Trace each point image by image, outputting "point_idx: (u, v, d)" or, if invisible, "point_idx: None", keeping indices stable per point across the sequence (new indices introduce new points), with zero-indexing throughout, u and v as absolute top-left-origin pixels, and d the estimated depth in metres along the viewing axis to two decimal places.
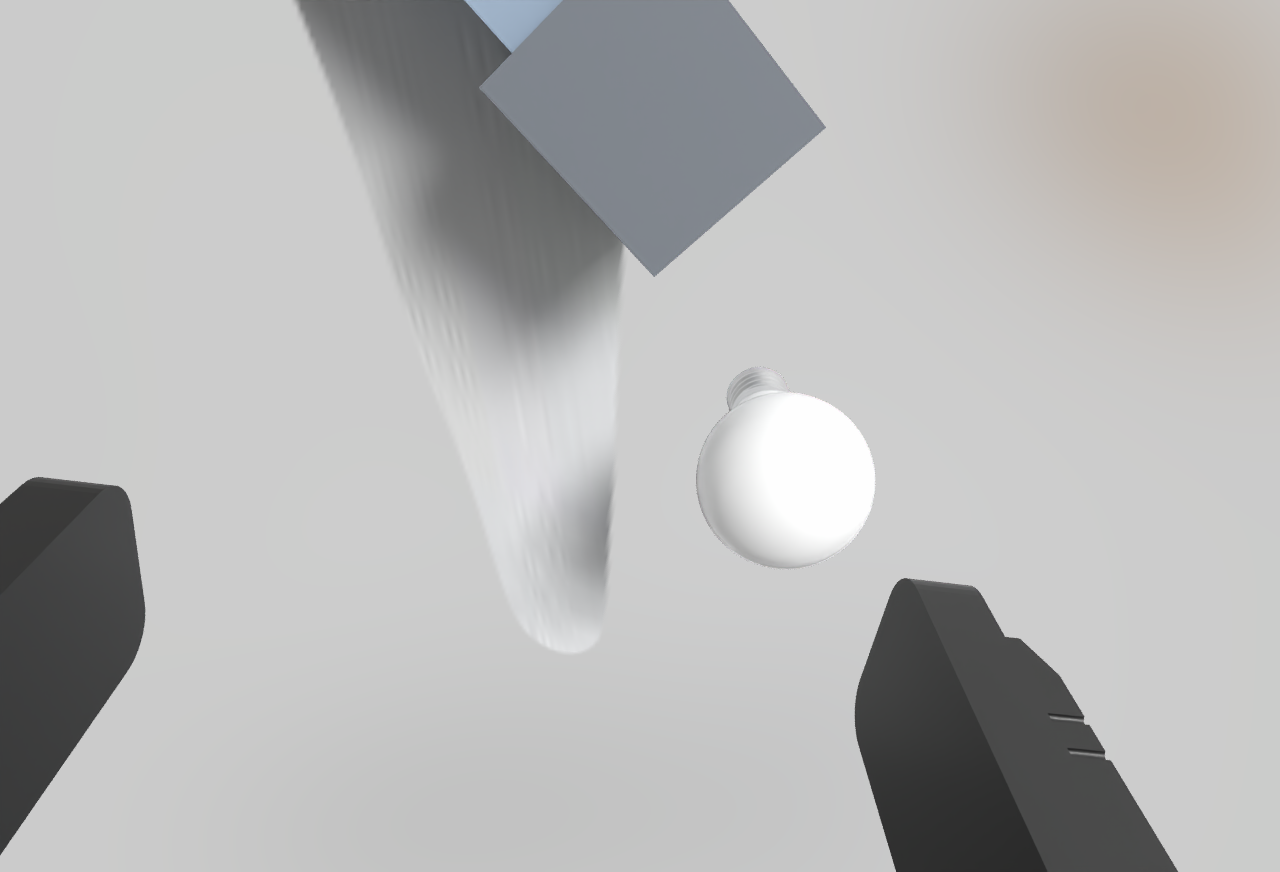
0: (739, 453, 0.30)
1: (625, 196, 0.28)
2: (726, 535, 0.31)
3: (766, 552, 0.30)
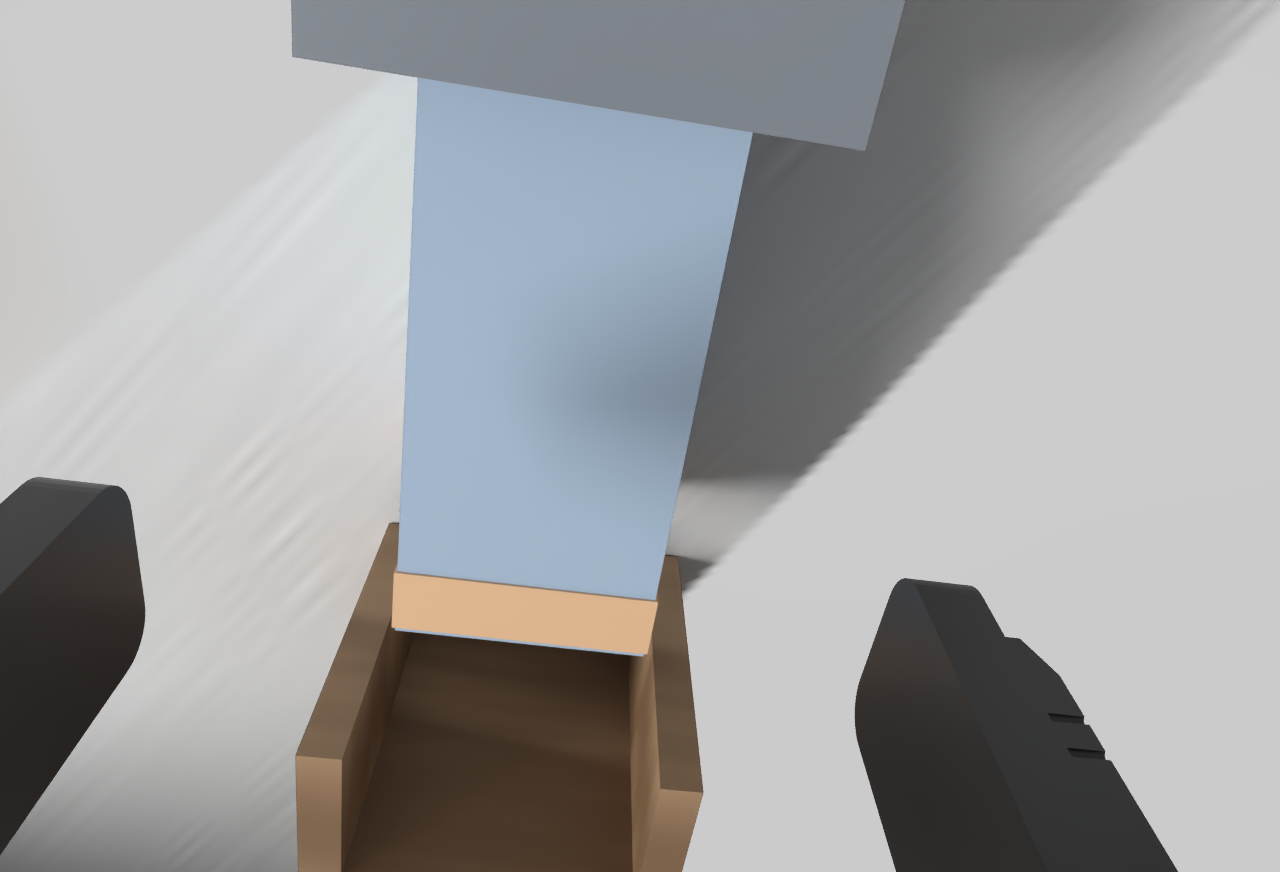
0: None
1: None
2: None
3: None
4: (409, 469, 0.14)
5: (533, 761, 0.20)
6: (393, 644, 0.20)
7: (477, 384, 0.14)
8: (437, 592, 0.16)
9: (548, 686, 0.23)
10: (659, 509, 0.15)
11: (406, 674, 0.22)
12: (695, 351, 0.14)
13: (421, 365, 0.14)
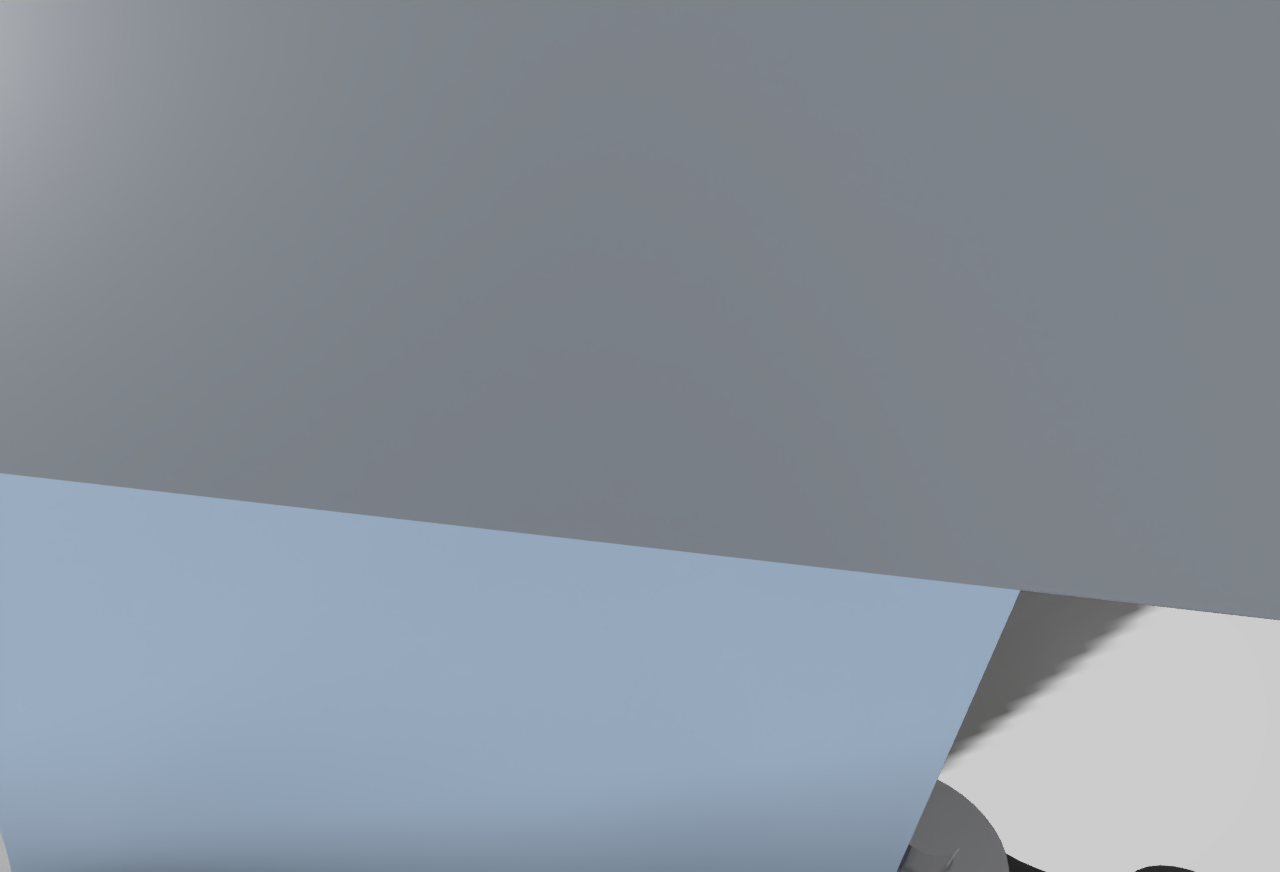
0: None
1: None
2: None
3: None
4: None
5: None
6: None
7: None
8: None
9: None
10: None
11: None
12: None
13: None
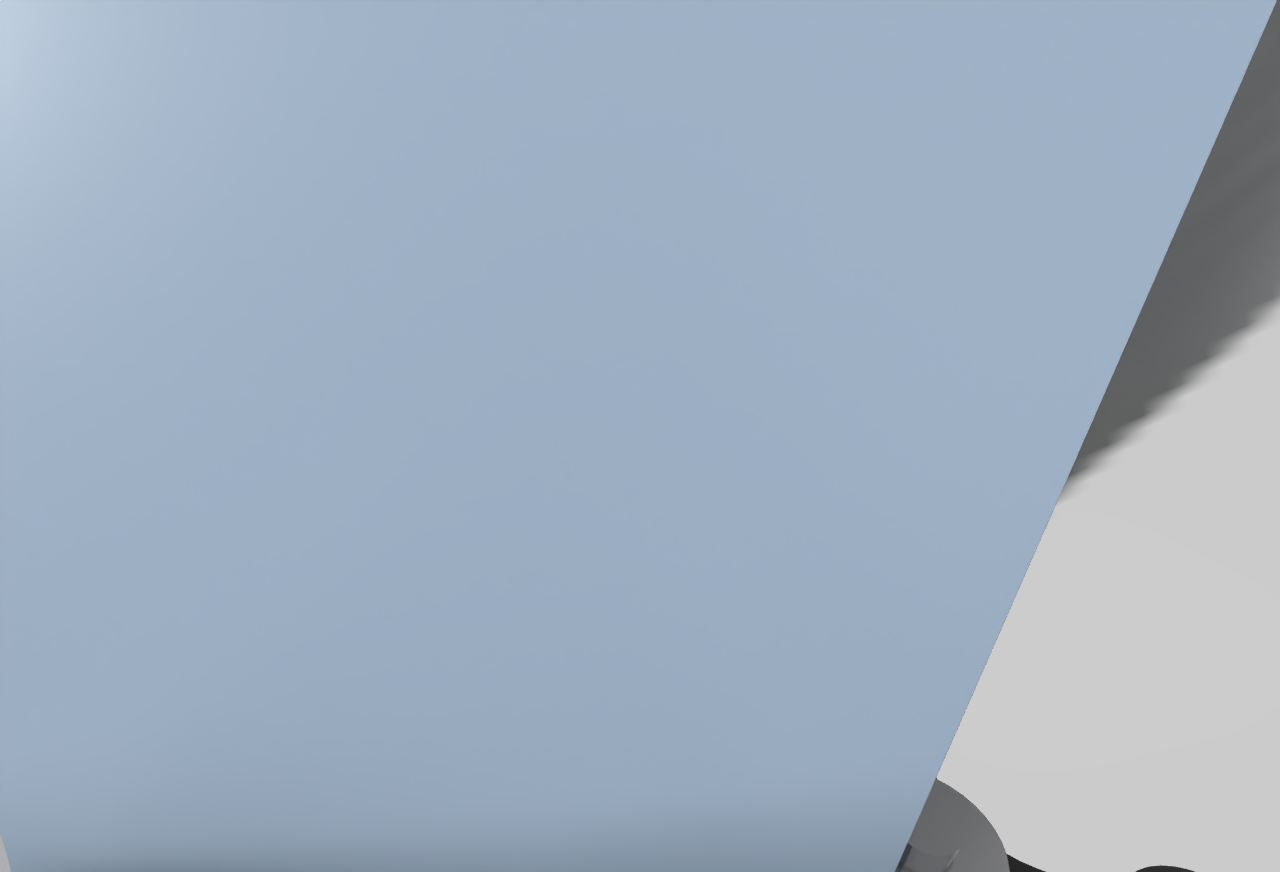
0: None
1: None
2: None
3: None
4: None
5: None
6: None
7: None
8: None
9: None
10: None
11: None
12: None
13: None
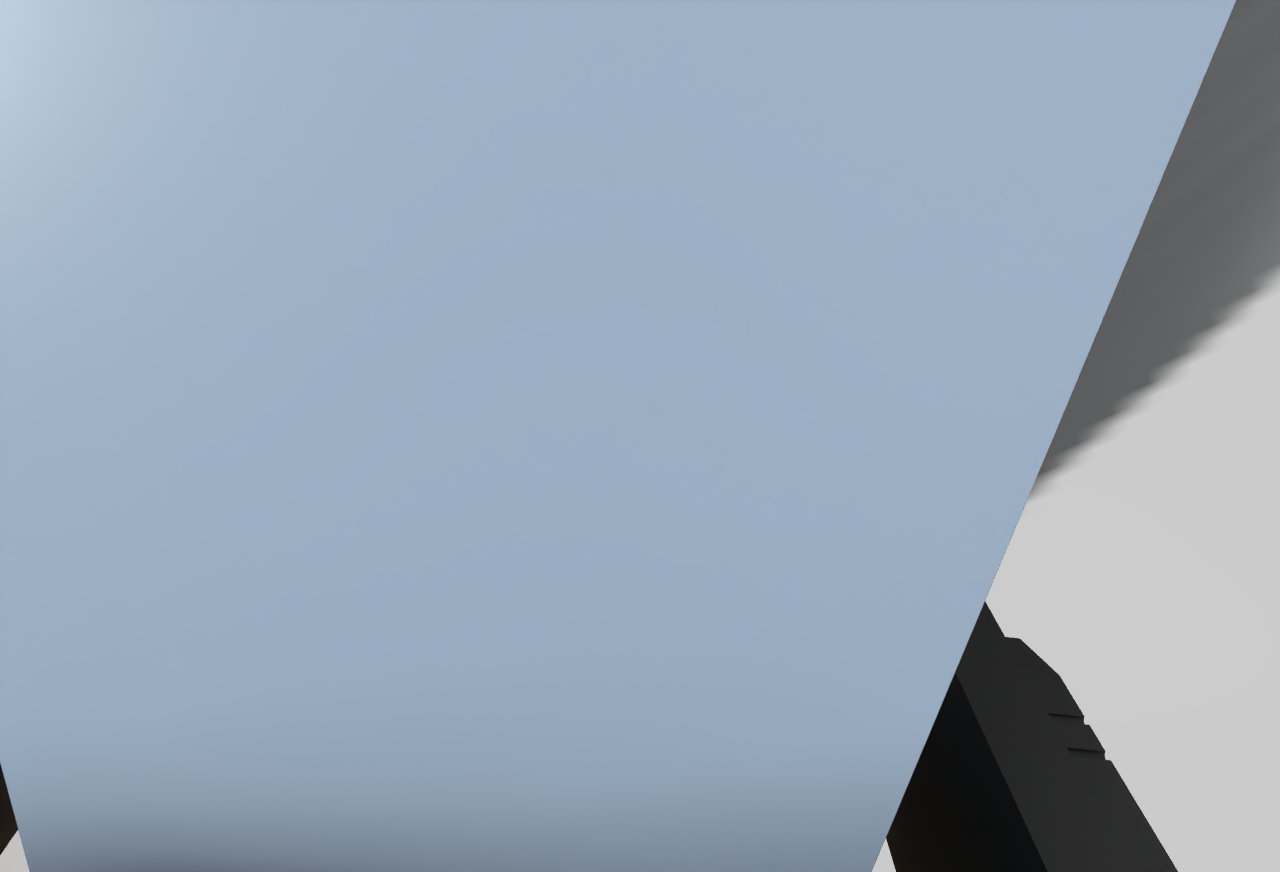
0: None
1: None
2: None
3: None
4: None
5: None
6: None
7: None
8: None
9: None
10: None
11: None
12: None
13: None
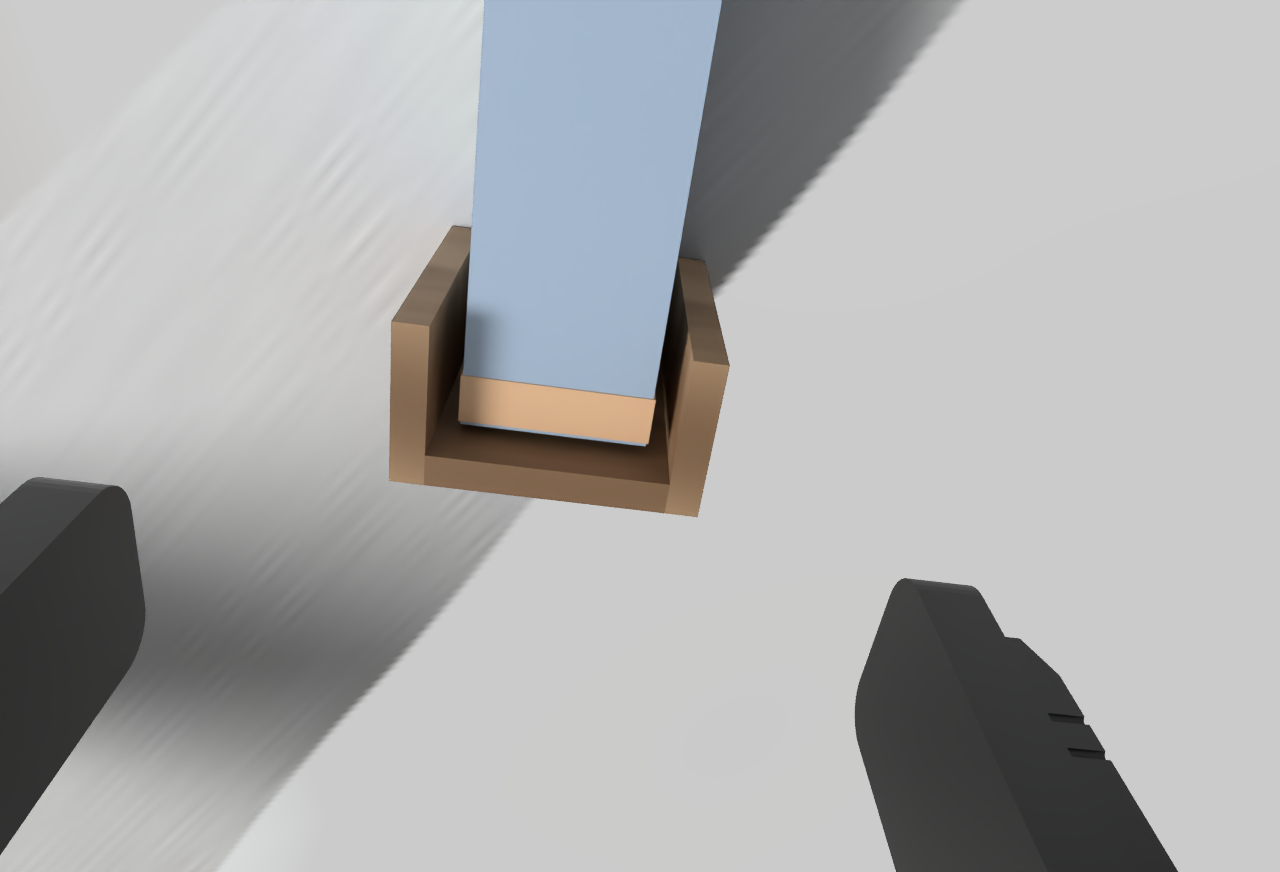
0: None
1: None
2: None
3: None
4: (473, 292, 0.20)
5: None
6: (460, 304, 0.23)
7: (523, 224, 0.19)
8: (492, 391, 0.21)
9: None
10: (655, 324, 0.20)
11: None
12: (679, 198, 0.19)
13: (483, 210, 0.19)
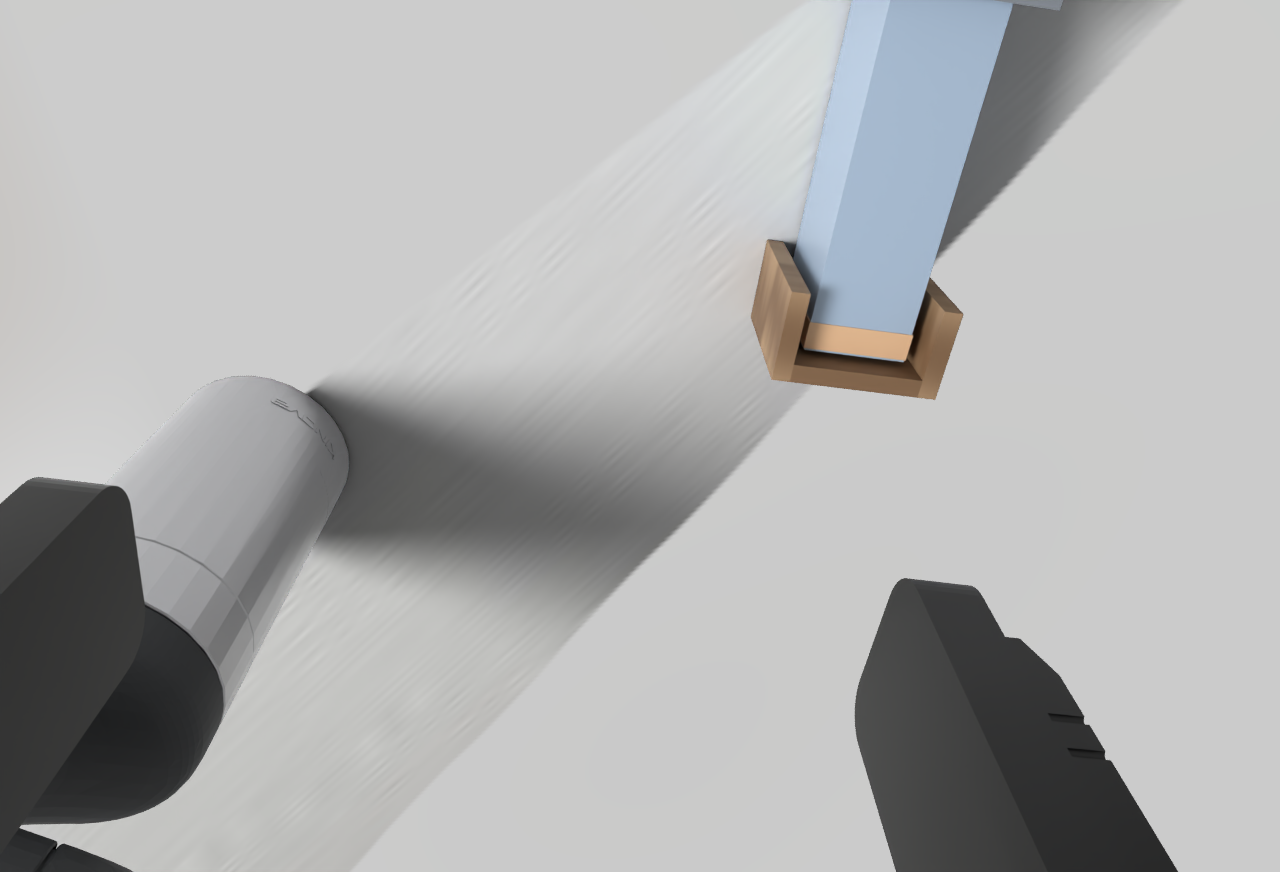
0: None
1: None
2: None
3: None
4: (825, 276, 0.38)
5: None
6: None
7: (857, 241, 0.37)
8: (825, 331, 0.39)
9: None
10: (918, 293, 0.38)
11: None
12: (940, 227, 0.37)
13: (838, 234, 0.37)
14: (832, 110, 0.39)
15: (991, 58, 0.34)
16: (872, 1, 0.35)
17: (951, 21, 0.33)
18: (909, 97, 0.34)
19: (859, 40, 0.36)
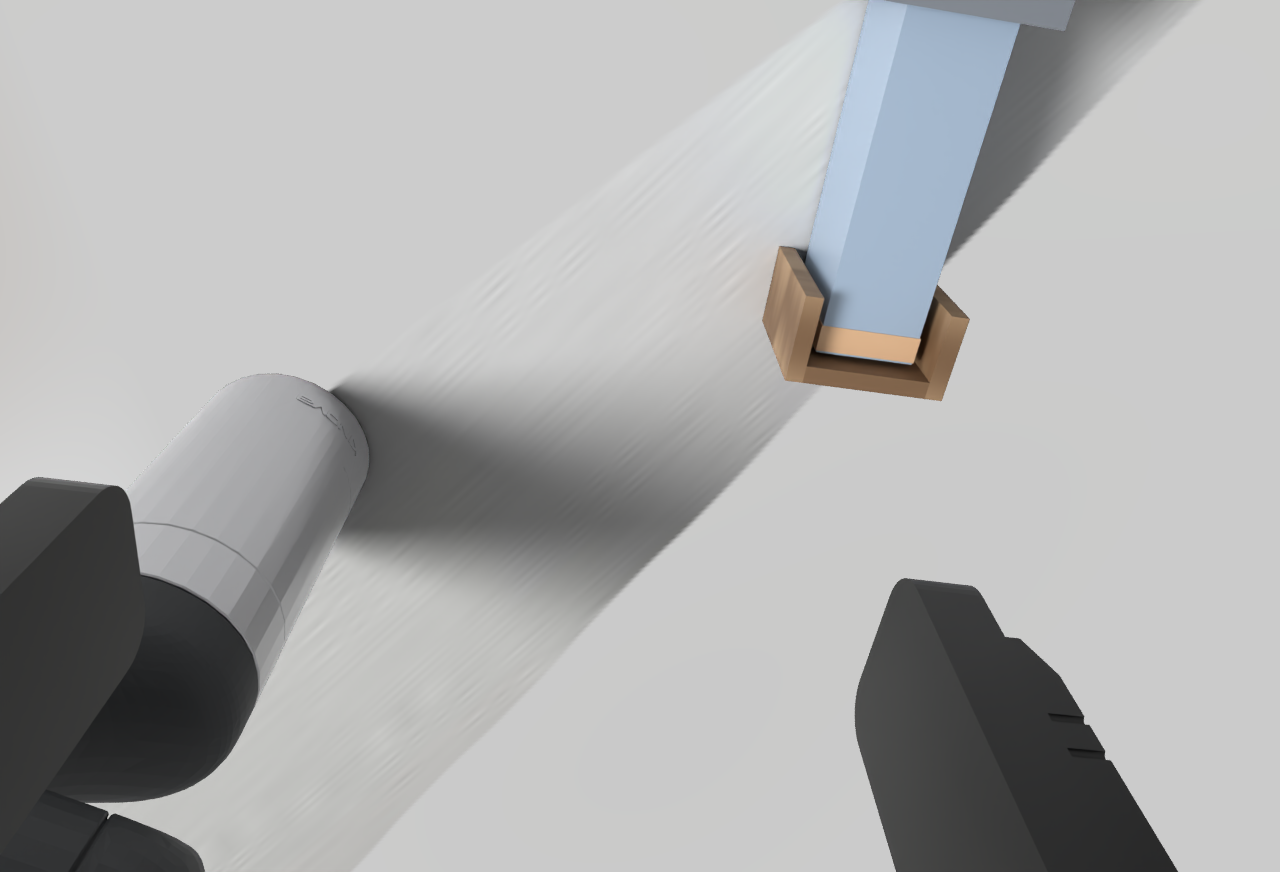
0: None
1: None
2: None
3: None
4: (837, 281, 0.39)
5: None
6: None
7: (869, 248, 0.38)
8: (836, 334, 0.40)
9: None
10: (926, 298, 0.40)
11: None
12: (948, 235, 0.38)
13: (850, 241, 0.38)
14: (844, 122, 0.41)
15: (999, 75, 0.35)
16: (885, 19, 0.36)
17: (961, 40, 0.35)
18: (921, 111, 0.36)
19: (872, 56, 0.38)
